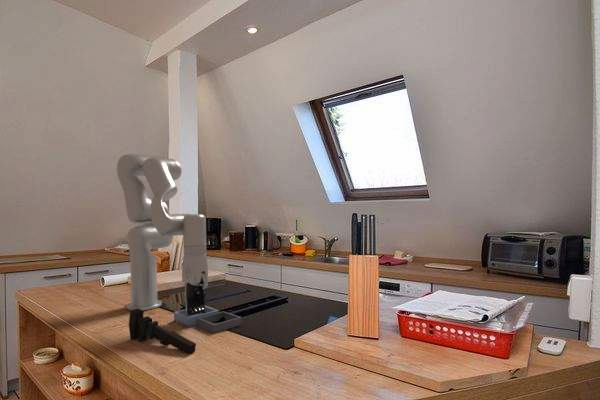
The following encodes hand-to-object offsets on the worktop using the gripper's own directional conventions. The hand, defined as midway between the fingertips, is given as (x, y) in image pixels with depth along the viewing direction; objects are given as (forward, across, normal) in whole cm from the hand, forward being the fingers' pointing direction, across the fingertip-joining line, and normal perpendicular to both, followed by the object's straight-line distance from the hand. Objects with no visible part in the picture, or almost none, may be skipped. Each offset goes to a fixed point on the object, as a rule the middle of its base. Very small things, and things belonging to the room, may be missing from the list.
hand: (196, 303), depth 126 cm
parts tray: (+6, 0, 0) cm, 6 cm away
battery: (+3, 0, 0) cm, 3 cm away
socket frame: (+6, +11, +2) cm, 12 cm away
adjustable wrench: (+6, +13, -18) cm, 23 cm away
